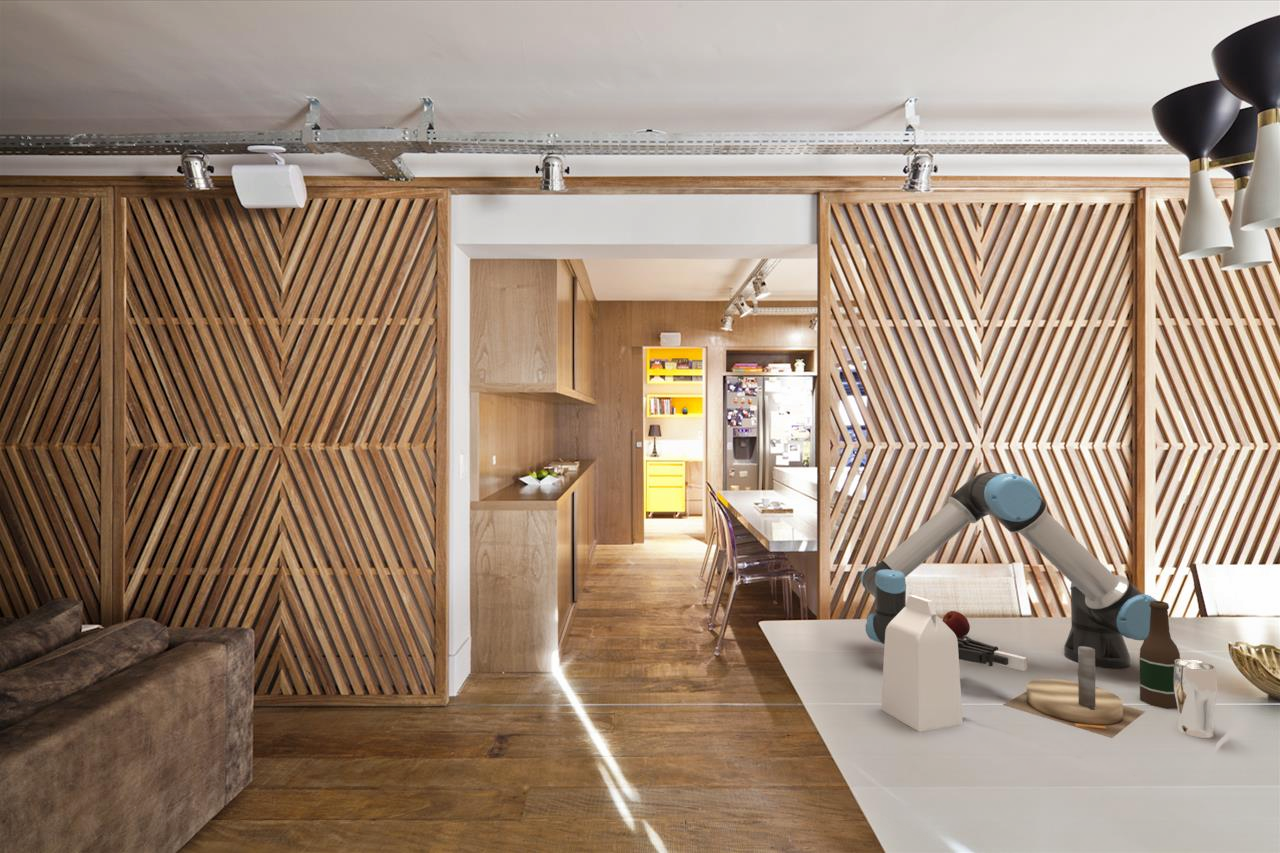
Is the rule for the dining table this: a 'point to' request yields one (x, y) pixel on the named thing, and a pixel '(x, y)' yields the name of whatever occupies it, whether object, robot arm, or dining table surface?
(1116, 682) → the dining table surface
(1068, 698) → the cam dial
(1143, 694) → the beer bottle
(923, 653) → the milk
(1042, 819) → the dining table surface
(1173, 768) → the dining table surface
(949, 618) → the apple
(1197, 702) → the beer glass
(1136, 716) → the dial base
